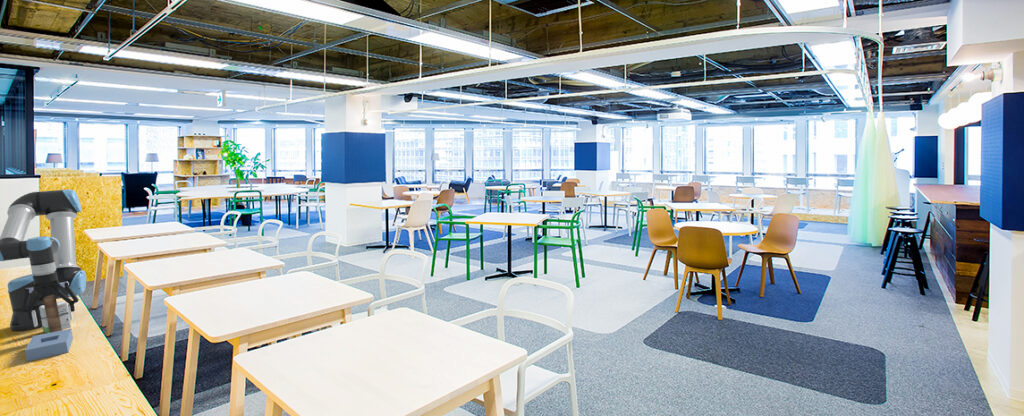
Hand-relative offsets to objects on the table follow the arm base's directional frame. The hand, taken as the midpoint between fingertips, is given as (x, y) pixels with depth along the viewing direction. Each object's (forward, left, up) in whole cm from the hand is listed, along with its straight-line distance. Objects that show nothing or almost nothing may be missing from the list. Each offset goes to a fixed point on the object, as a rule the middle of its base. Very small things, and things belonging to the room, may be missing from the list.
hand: (54, 322), depth 215 cm
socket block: (+17, 0, -6) cm, 18 cm away
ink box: (-12, -1, -7) cm, 14 cm away
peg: (0, 0, -6) cm, 6 cm away
